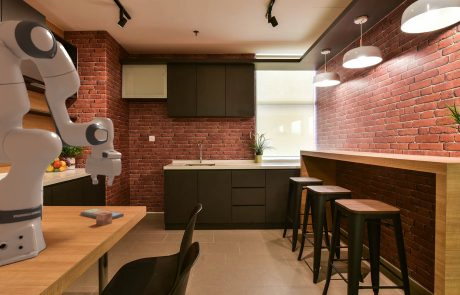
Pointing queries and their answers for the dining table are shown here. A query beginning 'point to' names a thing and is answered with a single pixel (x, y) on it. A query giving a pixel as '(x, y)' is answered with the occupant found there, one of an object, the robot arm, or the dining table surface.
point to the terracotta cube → (104, 218)
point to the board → (95, 211)
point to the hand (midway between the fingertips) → (102, 184)
